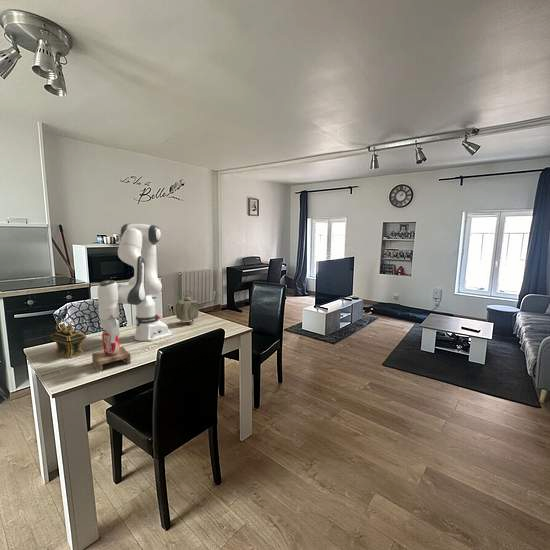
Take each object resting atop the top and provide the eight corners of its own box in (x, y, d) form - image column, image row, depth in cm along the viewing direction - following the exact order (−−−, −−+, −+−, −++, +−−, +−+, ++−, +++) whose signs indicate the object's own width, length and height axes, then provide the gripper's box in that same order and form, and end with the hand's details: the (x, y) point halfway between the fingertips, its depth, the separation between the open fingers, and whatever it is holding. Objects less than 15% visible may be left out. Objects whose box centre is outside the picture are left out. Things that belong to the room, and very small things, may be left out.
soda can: (122, 352, 144) (119, 330, 142) (107, 357, 139) (103, 334, 137) (117, 348, 149) (114, 326, 147) (102, 353, 144) (99, 330, 142)
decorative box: (88, 353, 156) (86, 318, 153) (69, 360, 147) (67, 323, 144) (66, 346, 164) (63, 313, 161) (47, 352, 155) (44, 317, 153)
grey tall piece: (193, 320, 220) (193, 288, 216) (199, 323, 214) (199, 290, 210) (175, 324, 209) (175, 291, 206) (182, 327, 203) (181, 293, 200)
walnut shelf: (122, 355, 154) (122, 346, 153) (130, 363, 145) (130, 354, 144) (92, 362, 144) (92, 353, 144) (99, 372, 135) (98, 361, 134)
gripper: (122, 316, 136) (124, 344, 138) (110, 308, 150) (111, 333, 152) (107, 319, 132) (109, 347, 133) (96, 310, 146) (98, 336, 148)
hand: (110, 340), depth 143 cm, fingers closed on soda can, 6 cm apart
